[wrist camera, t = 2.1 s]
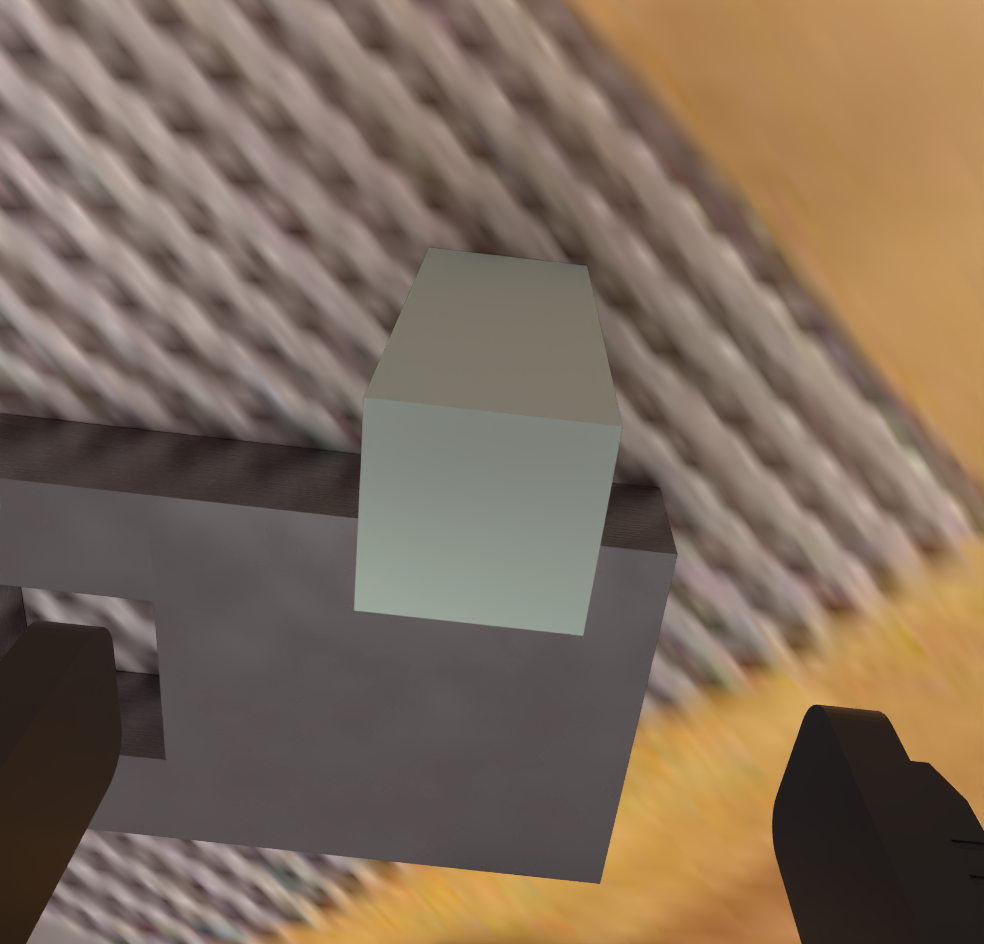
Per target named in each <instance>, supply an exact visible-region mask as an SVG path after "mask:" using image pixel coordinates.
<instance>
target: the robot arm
mask: <svg viewBox="0 0 984 944" xmlns="http://www.w3.org/2000/svg"><path fill="white" fill-rule="evenodd" d="M121 741H122V725H121V715H120V706H119V697H118V687H117V678H116V668H115V659H114V649H113V642H112V637H111V634H110V632H109V631H108V630H107V629H106V628H104V627H95V626H85V625H76V624H66V623H57V622H47V621H36V622H33V623H32V624H31V625H29V626H28V627H27V628H26V629H25V631H24V632H23V633H22V634H21V636H20V637H19V638H18V639H17V641H16V642H15V643H14V644H13V646H12V647H11V648H10V649H9V651H8V652H7V653H6V654H5V656H4V657H3V658H2V659H1V661H0V944H26V943H27V941H28V939H29V937H30V935H31V933H32V931H33V929H34V928H35V926H36V924H37V922H38V920H39V918H40V916H41V914H42V912H43V911H44V909H45V907H46V905H47V903H48V901H49V899H50V897H51V895H52V894H53V892H54V890H55V888H56V886H57V884H58V882H59V880H60V878H61V877H62V875H63V873H64V871H65V869H66V867H67V865H68V863H69V861H70V860H71V858H72V856H73V854H74V852H75V850H76V848H77V846H78V844H79V843H80V841H81V839H82V837H83V835H84V833H85V831H86V829H87V827H88V826H89V824H90V822H91V820H92V818H93V816H94V814H95V812H96V810H97V809H98V807H99V805H100V803H101V801H102V799H103V797H104V795H105V793H106V792H107V790H108V788H109V786H110V784H111V781H112V779H113V776H114V773H115V770H116V767H117V763H118V759H119V755H120V749H121ZM772 833H773V844H774V850H775V855H776V859H777V862H778V866H779V869H780V872H781V876H782V879H783V882H784V886H785V889H786V892H787V896H788V899H789V903H790V906H791V909H792V913H793V916H794V919H795V923H796V926H797V930H798V933H799V936H800V940H801V943H802V944H984V830H983V828H982V827H981V825H980V823H979V821H978V819H977V818H976V816H975V814H974V812H973V810H972V809H971V807H970V805H969V803H968V801H967V800H966V799H965V798H964V797H963V796H962V795H961V794H960V793H959V792H958V791H957V790H956V789H955V788H954V787H953V786H952V785H951V784H950V783H949V782H948V781H947V780H946V779H945V778H944V777H943V776H942V775H941V774H940V773H939V772H937V771H936V770H935V769H934V768H933V767H932V766H931V765H930V764H929V763H925V762H915V761H910V759H909V757H908V755H907V753H906V751H905V749H904V747H903V745H902V743H901V741H900V740H899V738H898V736H897V734H896V732H895V730H894V728H893V726H892V724H891V722H890V721H889V719H888V718H887V717H886V715H885V714H883V713H882V712H879V711H872V710H863V709H853V708H844V707H834V706H825V705H813V706H811V707H810V708H809V709H808V711H807V712H806V714H805V716H804V719H803V721H802V724H801V727H800V730H799V733H798V736H797V739H796V741H795V744H794V747H793V750H792V753H791V756H790V759H789V761H788V764H787V767H786V770H785V773H784V776H783V779H782V782H781V784H780V787H779V790H778V793H777V796H776V799H775V804H774V809H773V820H772Z"/></svg>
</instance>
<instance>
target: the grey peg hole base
mask: <svg viewBox="0 0 984 944" xmlns="http://www.w3.org/2000/svg"><path fill="white" fill-rule="evenodd" d="M360 469H361V455H360V454H351V453H342V452H334V451H325V450H316V449H307V448H298V447H289V446H281V445H272V444H263V443H254V442H245V441H237V440H228V439H219V438H210V437H201V436H192V435H184V434H175V433H166V432H157V431H148V430H140V429H131V428H122V427H113V426H104V425H96V424H87V423H78V422H69V421H60V420H51V419H43V418H34V417H25V416H16V415H7V414H0V661H1V659H2V658H3V657H4V656H5V654H6V653H7V652H8V651H9V649H10V648H11V647H12V646H13V644H14V643H15V642H16V641H17V639H18V638H19V637H20V636H21V634H22V633H23V632H24V631H25V629H26V628H27V627H26V620H25V614H24V608H23V601H22V595H21V588H20V587H28V588H37V589H46V590H55V591H64V592H73V593H82V594H91V595H100V596H109V597H118V598H127V599H136V600H145V601H154V611H155V624H156V637H157V651H158V664H159V676H156V675H147V674H138V673H129V672H120V671H116V678H117V687H118V697H119V706H120V715H121V725H122V741H121V749H120V755H119V759H118V763H117V767H116V770H115V773H114V776H113V779H112V781H111V784H110V786H109V788H108V790H107V792H106V793H105V795H104V797H103V799H102V801H101V803H100V805H99V807H98V809H97V810H96V812H95V814H94V816H93V818H92V820H91V822H90V824H89V826H88V827H87V829H95V830H105V831H114V832H123V833H132V834H142V835H151V836H160V837H170V838H179V839H188V840H198V841H207V842H216V843H225V844H235V845H244V846H253V847H263V848H272V849H281V850H291V851H300V852H309V853H318V854H328V855H337V856H346V857H356V858H365V859H374V860H383V861H393V862H402V863H411V864H421V865H430V866H439V867H449V868H458V869H467V870H476V871H486V872H495V873H504V874H514V875H523V876H532V877H541V878H551V879H560V880H569V881H579V882H588V883H597V884H600V881H601V877H602V873H603V869H604V865H605V860H606V856H607V852H608V848H609V843H610V839H611V835H612V831H613V826H614V822H615V818H616V814H617V809H618V805H619V801H620V797H621V792H622V788H623V784H624V780H625V775H626V771H627V767H628V763H629V758H630V754H631V750H632V746H633V741H634V737H635V733H636V729H637V724H638V720H639V716H640V712H641V708H642V703H643V699H644V695H645V691H646V686H647V682H648V678H649V674H650V669H651V665H652V661H653V657H654V652H655V648H656V644H657V640H658V635H659V631H660V627H661V623H662V618H663V614H664V610H665V606H666V601H667V597H668V593H669V589H670V584H671V580H672V576H673V572H674V567H675V563H676V559H677V555H678V554H677V551H676V547H675V543H674V539H673V536H672V532H671V528H670V525H669V521H668V517H667V513H666V510H665V506H664V502H663V499H662V495H661V491H660V488H651V487H642V486H633V485H624V484H616V483H612V486H611V491H610V496H609V502H608V507H607V512H606V518H605V523H604V528H603V533H602V539H601V544H600V549H599V555H598V560H597V565H596V571H595V576H594V581H593V586H592V592H591V597H590V602H589V608H588V613H587V618H586V623H585V629H584V634H583V636H581V635H572V634H563V633H553V632H544V631H535V630H526V629H517V628H508V627H499V626H490V625H481V624H472V623H463V622H454V621H445V620H436V619H427V618H418V617H409V616H400V615H391V614H382V613H373V612H364V611H355V610H354V599H355V578H356V556H357V534H358V512H359V491H360Z"/></svg>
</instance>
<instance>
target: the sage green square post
mask: <svg viewBox="0 0 984 944" xmlns="http://www.w3.org/2000/svg"><path fill="white" fill-rule="evenodd" d="M622 428H623V426H622V421H621V417H620V412H619V408H618V403H617V399H616V394H615V390H614V385H613V381H612V376H611V372H610V367H609V363H608V358H607V354H606V349H605V345H604V340H603V336H602V331H601V327H600V322H599V318H598V313H597V309H596V304H595V300H594V295H593V291H592V286H591V282H590V277H589V273H588V268H587V266H584V265H576V264H567V263H559V262H550V261H541V260H533V259H524V258H516V257H507V256H498V255H490V254H481V253H473V252H464V251H456V250H447V249H438V248H430V247H429V249H428V251H427V254H426V256H425V258H424V261H423V263H422V265H421V267H420V270H419V272H418V274H417V277H416V279H415V281H414V283H413V286H412V288H411V290H410V293H409V295H408V297H407V299H406V302H405V304H404V306H403V309H402V311H401V313H400V316H399V318H398V320H397V322H396V325H395V327H394V329H393V332H392V334H391V336H390V338H389V341H388V343H387V345H386V348H385V350H384V352H383V354H382V357H381V359H380V361H379V364H378V366H377V368H376V370H375V373H374V375H373V377H372V380H371V382H370V384H369V386H368V389H367V391H366V393H365V396H364V404H363V426H362V447H361V469H360V491H359V512H358V534H357V556H356V578H355V599H354V610H355V611H364V612H373V613H382V614H391V615H400V616H409V617H418V618H427V619H436V620H445V621H454V622H463V623H472V624H481V625H490V626H499V627H508V628H517V629H526V630H535V631H544V632H553V633H563V634H572V635H581V636H583V634H584V629H585V623H586V618H587V613H588V608H589V602H590V597H591V592H592V586H593V581H594V576H595V571H596V565H597V560H598V555H599V549H600V544H601V539H602V533H603V528H604V523H605V518H606V512H607V507H608V502H609V496H610V491H611V486H612V481H613V475H614V470H615V465H616V459H617V454H618V449H619V443H620V438H621V433H622Z"/></svg>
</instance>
